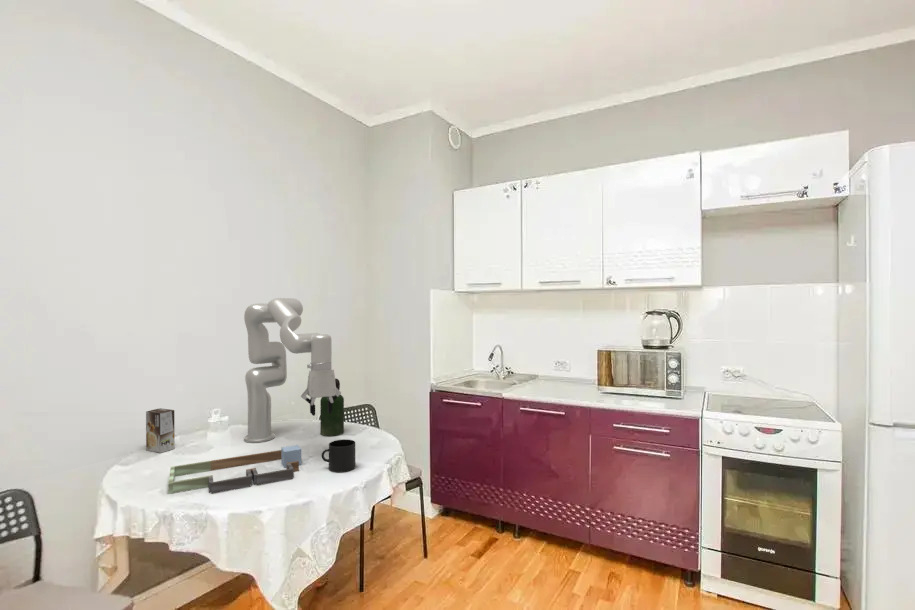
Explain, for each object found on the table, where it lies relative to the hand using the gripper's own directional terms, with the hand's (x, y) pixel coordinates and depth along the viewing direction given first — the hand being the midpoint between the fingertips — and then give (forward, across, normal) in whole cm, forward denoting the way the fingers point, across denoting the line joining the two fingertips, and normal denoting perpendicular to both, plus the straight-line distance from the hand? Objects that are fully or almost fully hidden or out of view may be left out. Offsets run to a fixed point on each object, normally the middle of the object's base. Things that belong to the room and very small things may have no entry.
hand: (321, 413), depth 174 cm
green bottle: (+18, +13, +33) cm, 40 cm away
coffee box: (+18, -54, +45) cm, 72 cm away
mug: (+18, +3, -13) cm, 22 cm away
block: (+18, -11, 0) cm, 21 cm away
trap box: (+17, -30, -3) cm, 35 cm away
